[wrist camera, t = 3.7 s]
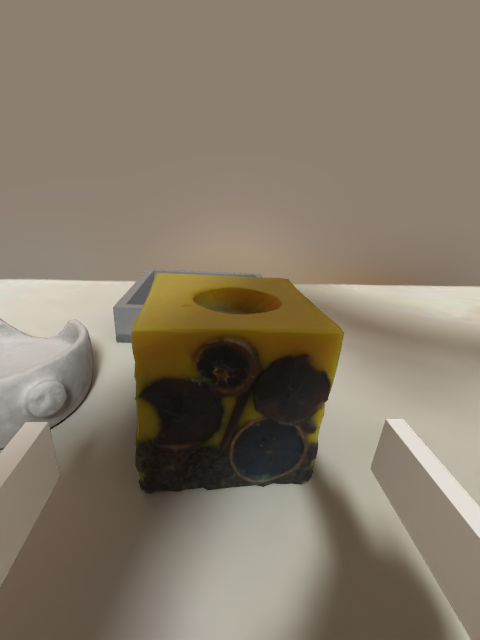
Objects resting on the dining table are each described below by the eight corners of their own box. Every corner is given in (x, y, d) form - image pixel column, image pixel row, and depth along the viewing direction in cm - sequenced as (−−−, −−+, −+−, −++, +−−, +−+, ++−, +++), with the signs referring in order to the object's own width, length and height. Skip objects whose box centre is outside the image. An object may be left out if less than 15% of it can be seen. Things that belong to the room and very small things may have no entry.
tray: (258, 297, 51) (260, 274, 49) (280, 345, 34) (284, 312, 32) (149, 293, 49) (148, 268, 47) (116, 342, 32) (113, 307, 31)
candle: (158, 387, 25) (152, 271, 22) (274, 385, 27) (288, 276, 23) (134, 499, 16) (118, 328, 12) (314, 486, 17) (349, 330, 14)
